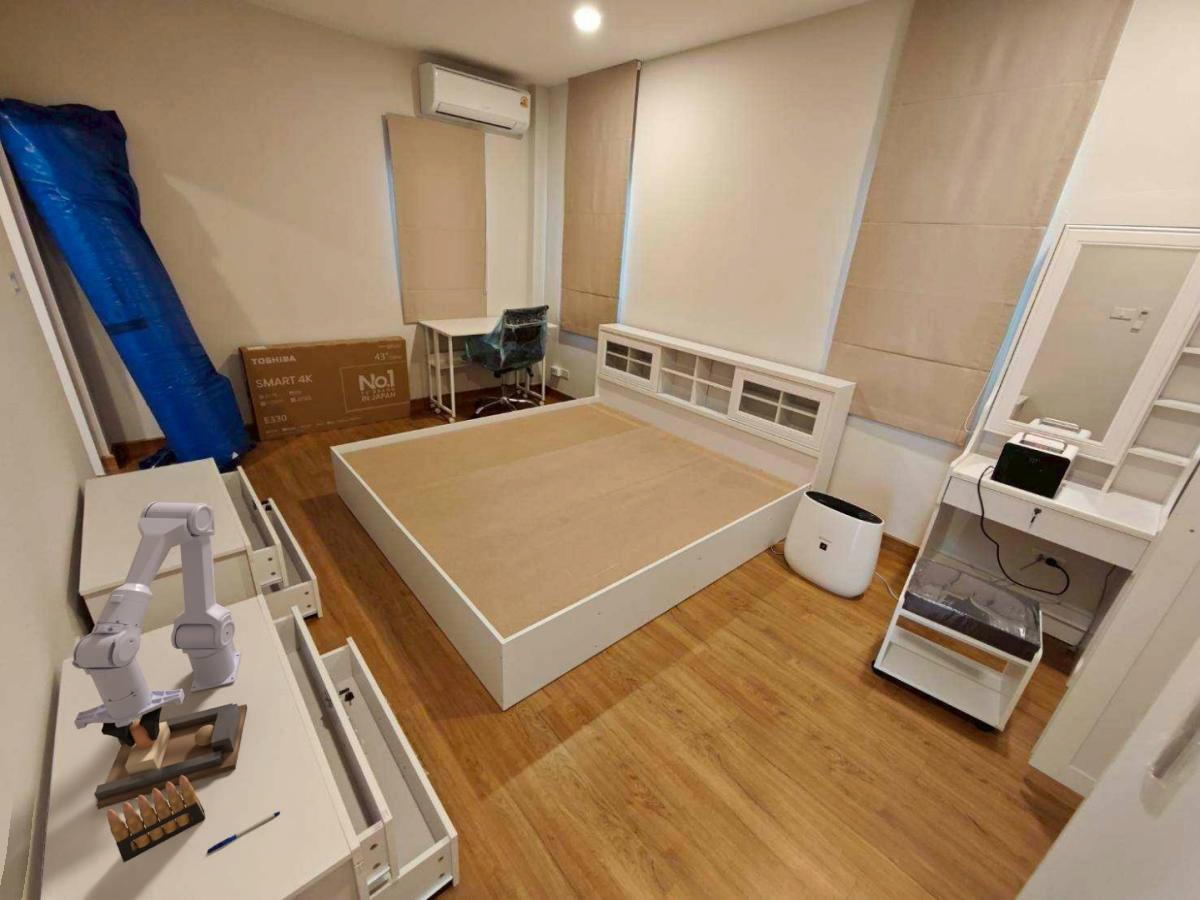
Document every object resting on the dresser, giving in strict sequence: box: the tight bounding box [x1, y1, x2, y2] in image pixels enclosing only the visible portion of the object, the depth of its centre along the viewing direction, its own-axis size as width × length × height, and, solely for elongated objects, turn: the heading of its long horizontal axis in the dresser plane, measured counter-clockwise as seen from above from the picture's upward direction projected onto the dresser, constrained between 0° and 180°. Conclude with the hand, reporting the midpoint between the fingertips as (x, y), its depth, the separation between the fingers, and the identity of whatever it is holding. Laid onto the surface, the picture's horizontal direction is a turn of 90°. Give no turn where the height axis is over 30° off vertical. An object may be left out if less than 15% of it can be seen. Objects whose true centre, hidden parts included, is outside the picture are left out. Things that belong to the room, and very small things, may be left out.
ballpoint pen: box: [206, 810, 281, 854], centre depth 86 cm, size 10×1×1 cm, turn 131°
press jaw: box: [125, 718, 171, 776], centre depth 93 cm, size 8×4×9 cm, turn 25°
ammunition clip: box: [106, 775, 206, 863], centre depth 82 cm, size 11×2×12 cm, turn 130°
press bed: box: [93, 702, 248, 810], centre depth 96 cm, size 14×20×5 cm
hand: (144, 738), depth 93 cm, fingers closed on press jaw, 3 cm apart
